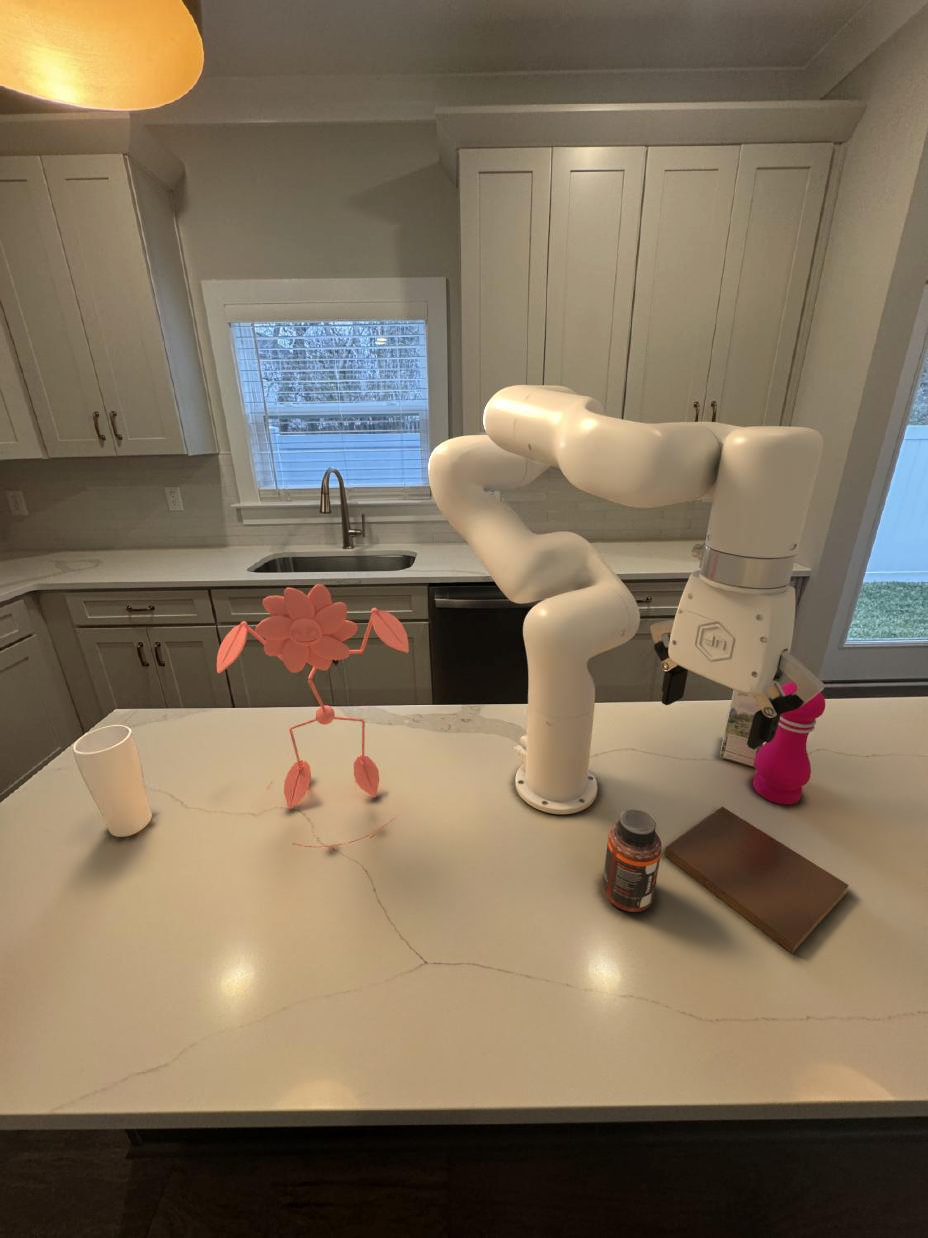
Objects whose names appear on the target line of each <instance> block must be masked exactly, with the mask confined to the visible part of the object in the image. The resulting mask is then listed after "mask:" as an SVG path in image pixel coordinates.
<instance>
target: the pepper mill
mask: <svg viewBox="0 0 928 1238" xmlns="http://www.w3.org/2000/svg"><path fill="white" fill-rule="evenodd" d="M780 686H781V688H782V689H783V691H784V693H785V695H789V694H792V693H794V692H795V691H796V690H797V685H796V684H795V683H794V682H793V681H790V682H787V683H784V684H782V685H780ZM825 709H826V699H825V696H824V695H823V693H822V691H821V692H820V693H818V694H817V695H816V696H814V697H813V698H812V699H810V700H809V701H808V702H807V703H805V704H804V705H802V706H801V707H799V708H798V709H796V710H793V711H789V712H786V713H783V714H781V716H780V720H779V723H778V727H777V731H776V734H775V737H774V738H773V740H772V741H771V742H769V743H767V742H765V743H763V746H762V747H761V748H760V750H759V751H758V753H757V755H756V758H755V761H754V765H755V770H756V772H755V773H754V775H753V776H754V777H753V780H752V786H753V789H754V790H755V791H756V793H757V794H758V795H760V796H761V797H763V798H764V799H766V800H768V801H769V802H772V803H775V804H778V805H795V804H796V803H798V802H799V801H800V799H801V795H802V792H803V787H804V786H805V785H807V784H808V782H809V781H810V779H811V774H812V767H811V761H810V758H809V754H808V750H807V743H808V739H809V738H808V737H809V735H810V733H812V732H814V731H815V728H816V727H815V725H816V724H817V720H816V719H818V718H820V717H821V716H822V715H823V714H824V712H825Z"/></svg>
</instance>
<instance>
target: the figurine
mask: <svg viewBox="0 0 928 1238" xmlns="http://www.w3.org/2000/svg"><path fill="white" fill-rule="evenodd" d="M262 607H263V608H264V609H265V611H266V612H267V613H268V614H269V615H270V616H268V617H267V618H265V619H262V620H261V621H260V622H259V623H258V624H256V626H255V628H254V629H252V627H250V626H249V625H248V622H247V621H244V620H243V621H241V622H240V624H238V625H236V626H233V628H231V630H230V631H229V632H228V633H227V634H226V635H225V637H224V638H223V640H222V642H221V644H220V645H219V649H218V651H217V655H216V673H217V674H218V675H219V674H221V673H222V672H224V671H225V670H226V669H227V668H230V666H231V665H232V664H233V663H234V662H236V661H237V659H238V658H239V657H240V655H241V654H242V652H243V650H244V647H245V645H246V643H247V638H248V633H250V634H251V636H252V637H254V638H255V639H256V640H258V641H259V642H260V643H261V644H262V645H263V651H264V654H265V655H266V656H269V657H277V658H278V659H279V660H280V661H281V662H283V664H284V667H286V669H287V670H288V671H289V672H290V673H291V674H294V673H295V674H296V673H300V672H301V671H303V670H304V668H305V666H306V663H307V664H308V665H310V666H311V667H312V669H311V671H310V673H309V675H308V677H307V679H308V681H307V683H308V685H309V687H310V689H311V691H312V692H313V695H314V697H315V699H316V700H317V702H318V704H319V707H318V708H317V709H316V711H315V718H313V719H310V720H307V721H304V722H301V723H298V724H296V725H293V726H289V729H288V730H289V734H290V738H291V742H292V746H293V751H294V754H295V758H296V762H294V764H293V765H292V766H291V767H290V769H289V770H288V772H287V773H286V776H285V779H284V785H283V794H284V797H285V802H286V805H287V807H288V809H289V810H291V809H293V808H294V807H295V806H296V805H297V804H298V803H300V802H301V800H302V799H304V797H306V794H307V793H308V790H309V789H310V785H311V780H312V771H311V766H310V764H309V763H308V762H307V760H303V759H300V755H299V751H298V747H297V743H296V740H295V736H294V731H293V730H294V729H296V728H300V727H302V726H305V725H309V724H311V723H314V722H317V723H319V724H321V725H330V724H331V723H332V722H333V721H334V720H337V721H338V720H339V721H353V722H361V755H360V756H357V757H356V758H355V760H354V762H353V778H354V780H355V783H356V784H357V786H358V787H359V788H360V790H362V791H364V792H365V793H367V794H368V795H369V796H372V797H373V798H376V797H377V795H378V791H379V785H380V774H379V769H378V767H377V764H376V763H375V762H374V760H372V759H371V758H370V757H369V756H368V755H365V734H366V733H365V732H366V731H365V730H366V729H365V727H366V725H365V724H366V721H365V719H364V718H355V717H354V718H353V717H345V716H344V717H343V716H336V714H335V713H336V712H335V710H334V708H333V707H332V706H331V705H325V704H324V703H323V700H322V698H321V696H320V694H319V692H318V690H317V688H316V686H315V684H314V681H313V679H314V676H315V673H316V671H317V670H320V671H327V670H329V668H331V664H332V661H339V660H345V659H347V658H349V657H350V655H351V654H357V655H358V654H360V655H361V654H363V652H365V648H366V646H367V643H368V640H369V637H370V636H369V635H370V633H371V631H372V627H373V631H374V632H375V634H376V635H377V637H378V638H379V640H380V641H382V642H383V643H384V644H385V645H386V646H387V647H388V648H391V649H394V650H396V651H399V652H401V653H405V654H409V639H408V634H407V632H406V631H407V630H406V629H405V627H404V625H403V623H402V622H401V621H400V620H399V619H398V618H397V616H395V615H394V614H392V613H391V612H390V613H389V612H388V611H387V610H385V609H384V610H383V609H378V608H377V607H372V608H371V610H370V611H371V615H370V617H369V621H368V624H367V627H366V630H365V633H364V637H363V640H362V643H361V646H360V649H350V648H349V646H348V645H347V644H345V643H344V641H346V640H348V639H350V638H352V637H354V635H356V633H357V632H358V629H359V626H358V625H357V623H356V622H354V621H352V620H348V619H347V615H348V607H347V604H346V603H345V602H343V601H338V602H334V603H333V600H332V595H331V592H330V591H329V589H328V588H327V586H325V585H324V584H322V583H317V584H315V585H314V586H313V587H312V588H311V589H310V590H309V592H308V593H307V594H306V593H304V592H303V591H301V590H299V589H296V588H294V587H286V588H285V589H284V590H283V596H282V595H269V596H266V597H265V598H263V599H262ZM264 638H265V639H264ZM272 783H273V781H271V782H270V784H269V785H268V786H267V788H266V789H267V790H268V789H269V788H270V786H271V784H272ZM397 816H398V814H395V816H394V817H393V818H392V819H390V820H389V822H387V823H386V824H384V825H383V826H381V827H380V828H379V829H377V830H375V831H373V832H371V833H370V834H368V835H365V836H362V837H360V838H358V839H355V840H351V841H348V842H345V843H340V844H334V845H324V846H320V848H328V851H330V850H334V849H336V847H337V849H339V848H340V847H338V846H344V845H347V844H350V843H354V842H357V841H360V840H362V839H364V838H367V837H369V836H370V837H369V839H371V838H372V837H374V836H376V835H377V832H379V831H380V830H382V829H383V828H384V827H386V826H387V825H389V824H390V823H391V822H392V821H393V820H394V819H395V818H396V817H397ZM371 835H372V836H371ZM292 845H296V846H299V847H305V848H318V846H315V845H314V846H312V845H302V844H298V843H294V842H292Z"/></svg>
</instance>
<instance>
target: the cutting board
mask: <svg viewBox="0 0 928 1238" xmlns="http://www.w3.org/2000/svg"><path fill="white" fill-rule="evenodd" d="M664 856H665V857H666V858H667V859H668V860H670V861H671V862H673V863H674V864H675V865H676V866H678V867H679V868H680V869H682V871H684V872H685V873H687V874H688V875H689V876H691V877H692V878H694V880H696V882H698V883H699V884H701V885H702V886H703V887H705V888H706V889H707V890H709V891H710V892H711V893H713V894H714V895H715V896H716V897H718V898H719V899H720V900H722V901H723V902H724V903H725V904H727V905H728V906H729V907H731V908H732V909H733V910H735V911H736V912H737V913H738V914H740V915H741V916H742V917H743V918H744V919H746V920H747V921H749V922H750V923H752V925H754V926H755V927H757V928H758V929H759V930H761V931H762V932H763V933H764V934H766V935H767V936H768V937H769V938H771V939H772V940H773V941H775V942H776V943H777V944H778V945H780V946H781V947H782V948H784V949H785V950H786V951H787V952H789V953H790V954H794V952H796V950H798V948H799V947H800V946H801V945H802V944H803V942H805V940H806V939H807V938H808V937H809V936H810V935H811V934H812V932H813V931H814V930H815V929H816V928H817V927H818V926H819V925H820V923H821V922H822V921H823V920H824V919H825V918H826V917H827V916H828V915H829V913H830V912H831V911H832V910H833V909H834V908H835V907H836V906H837V905H838V904H839V902H840V901H841V900H842V899H843V898H844V897H845V896H846V894H847V892H848V889H849V887H850V885H849V884H848V883H846V882H845V881H843V880H841V879H840V878H838V877H837V876H835V875H833V874H832V873H830V872H829V871H827V870H825V869H824V868H823V867H820V866H819V865H817V864H816V863H814V862H812V861H811V860H809V859H807V858H806V857H805V856H803V855H801V854H800V853H798V852H796V851H795V850H793V849H792V848H790V847H788V846H787V845H785V844H784V843H782V842H781V841H779V840H777V839H776V838H774V837H772V836H770V835H769V834H768V833H766V832H765V831H763V830H762V829H759V827H756V826H755V825H753V824H752V823H749V822H748V821H747V820H745V819H743V818H742V817H741V816H739V815H737V814H736V813H734V812H732V811H731V810H729V809H728V808H726V807H724V806H721V807H719V808H718V809H717V810H715V811H713V813H711V814H709V815H708V816H707V817H705V818H704V819H703V820H701V821H700V822H699V823H698V824H696V825H695V826H693V827H691V828H690V829H688V830H687V831H686V832H685V833H683V834H682V835H680V836H679V837H678V838H676V839H675V840H673V841H672V842H670V843H669V844H668V845H667V846H665V850H664Z"/></svg>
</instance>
